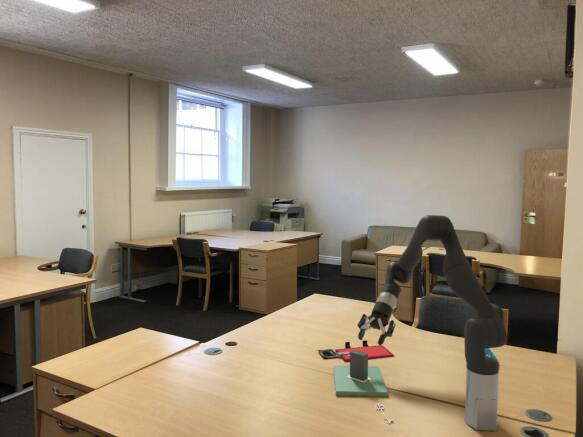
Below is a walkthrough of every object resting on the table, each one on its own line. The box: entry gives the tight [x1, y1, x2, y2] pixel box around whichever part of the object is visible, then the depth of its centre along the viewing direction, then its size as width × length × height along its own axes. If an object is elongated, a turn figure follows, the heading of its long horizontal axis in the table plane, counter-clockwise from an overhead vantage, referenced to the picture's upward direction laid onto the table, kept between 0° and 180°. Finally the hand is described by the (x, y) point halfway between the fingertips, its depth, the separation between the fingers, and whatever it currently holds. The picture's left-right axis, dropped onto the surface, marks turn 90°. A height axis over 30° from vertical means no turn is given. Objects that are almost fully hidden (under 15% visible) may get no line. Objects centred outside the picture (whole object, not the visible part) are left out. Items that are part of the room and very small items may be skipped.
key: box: [374, 403, 390, 424], centre depth 146 cm, size 12×1×3 cm
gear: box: [485, 348, 499, 361], centre depth 190 cm, size 11×6×10 cm
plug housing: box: [349, 350, 369, 381], centre depth 169 cm, size 3×6×10 cm, turn 49°
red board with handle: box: [317, 339, 395, 363], centre depth 197 cm, size 30×3×15 cm
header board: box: [332, 364, 389, 397], centre depth 169 cm, size 22×18×4 cm
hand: (369, 341), depth 173 cm, fingers open, 8 cm apart
